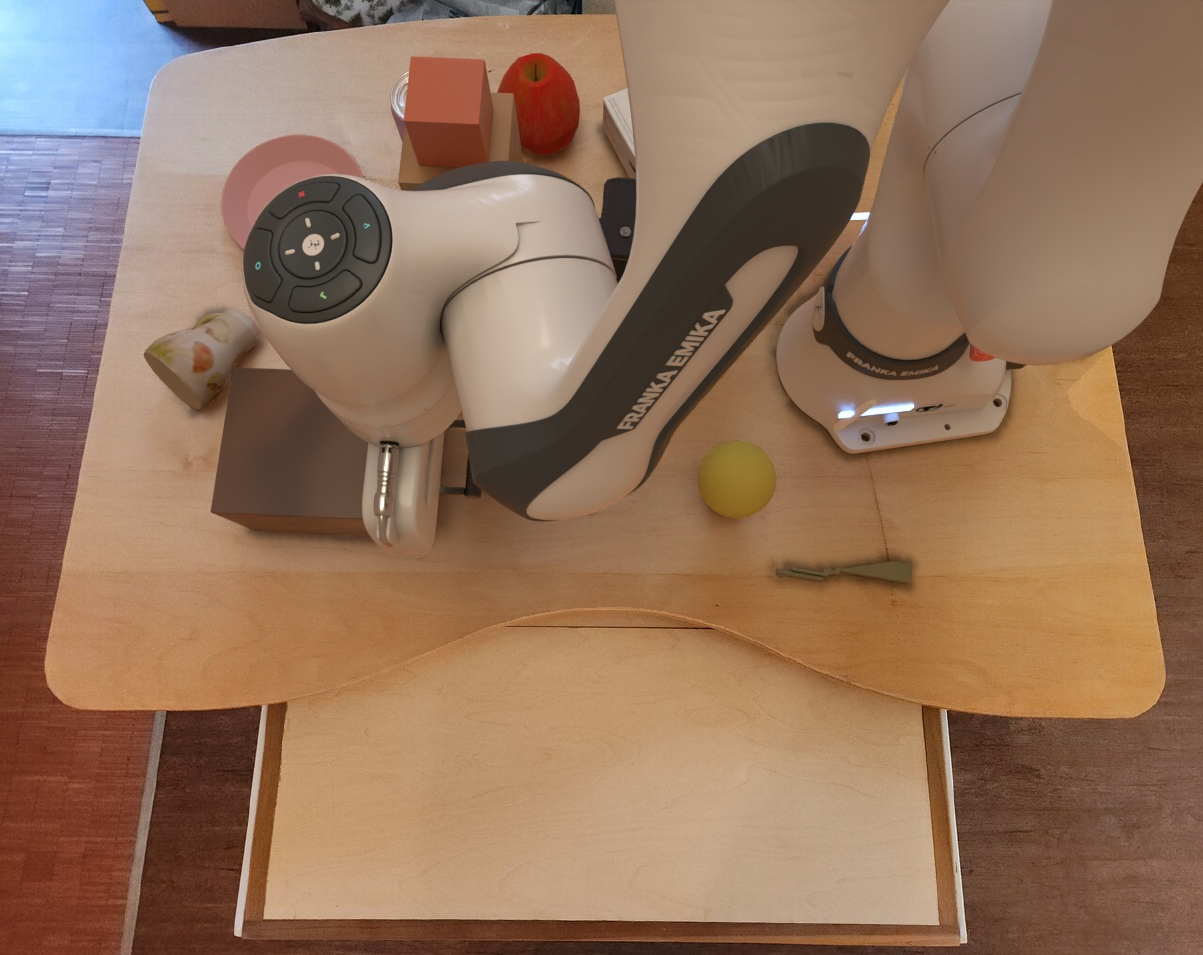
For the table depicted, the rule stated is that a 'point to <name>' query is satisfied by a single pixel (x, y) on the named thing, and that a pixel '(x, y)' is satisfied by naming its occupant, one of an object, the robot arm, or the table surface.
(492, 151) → the stand
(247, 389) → the cabinet
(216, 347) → the mug
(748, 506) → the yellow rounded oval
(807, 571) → the toy shotgun
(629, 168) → the small box
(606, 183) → the camera
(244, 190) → the plate
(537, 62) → the apple
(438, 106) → the block
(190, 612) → the table surface
